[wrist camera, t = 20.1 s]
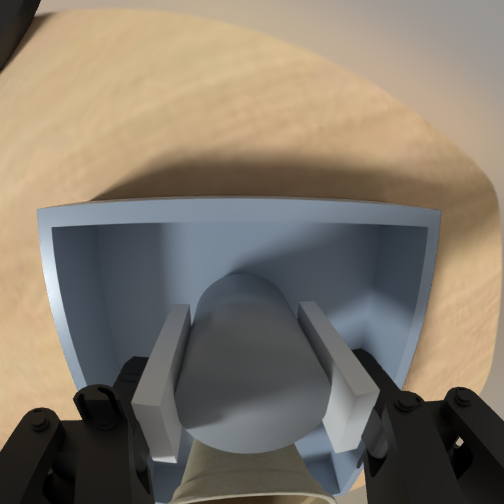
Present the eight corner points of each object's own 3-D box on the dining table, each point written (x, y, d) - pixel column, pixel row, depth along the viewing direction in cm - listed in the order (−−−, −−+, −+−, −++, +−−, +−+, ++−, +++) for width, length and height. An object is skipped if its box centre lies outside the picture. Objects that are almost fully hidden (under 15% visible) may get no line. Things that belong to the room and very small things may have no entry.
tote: (88, 201, 14) (37, 209, 9) (387, 202, 15) (441, 210, 10) (150, 463, 19) (142, 502, 14) (332, 457, 20) (346, 494, 15)
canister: (193, 274, 14) (162, 345, 7) (291, 272, 14) (342, 339, 7) (199, 357, 15) (185, 452, 8) (286, 355, 15) (318, 445, 8)
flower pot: (202, 359, 16) (190, 480, 7) (328, 396, 17) (371, 489, 9) (162, 439, 17) (148, 527, 9) (267, 463, 19) (282, 542, 10)
